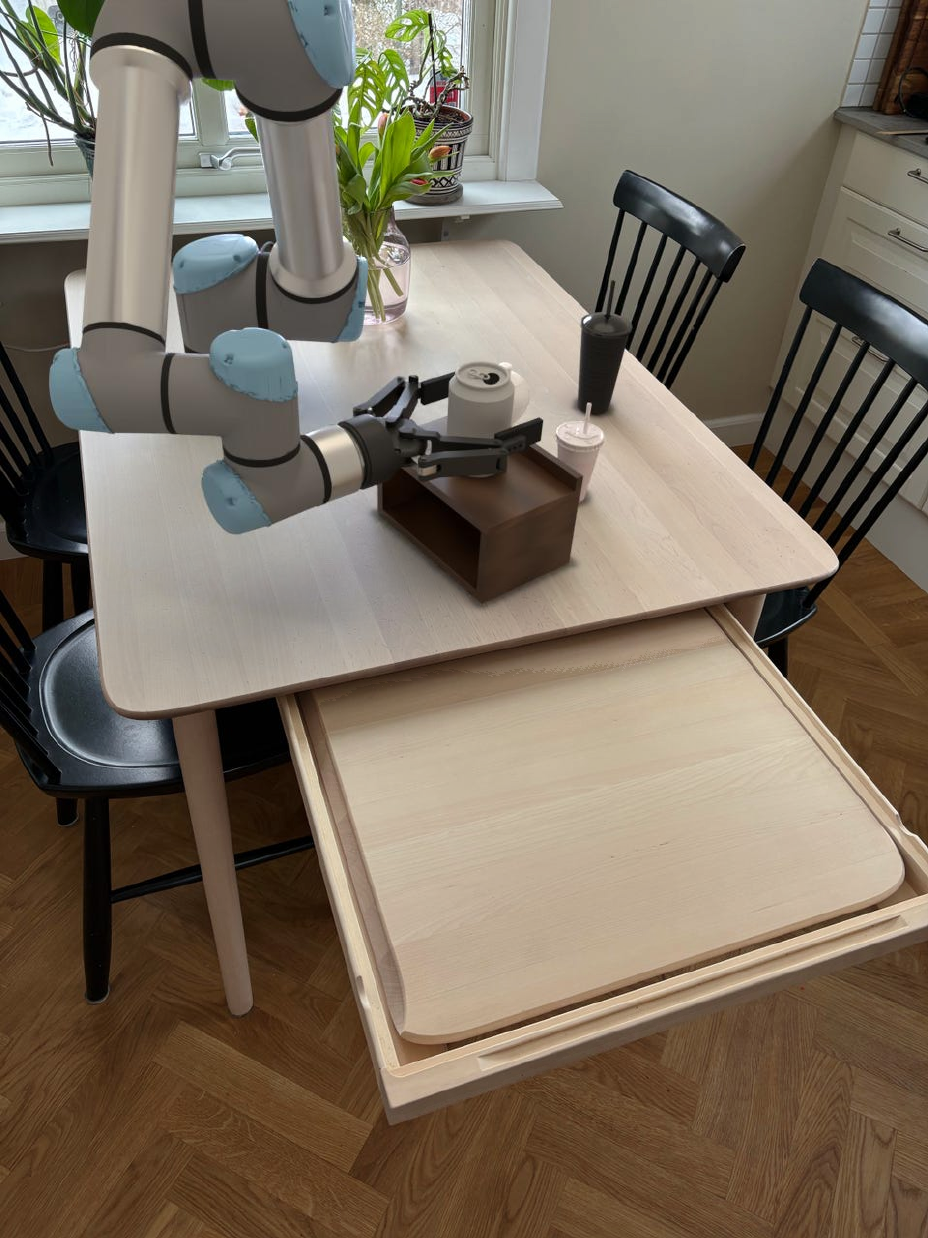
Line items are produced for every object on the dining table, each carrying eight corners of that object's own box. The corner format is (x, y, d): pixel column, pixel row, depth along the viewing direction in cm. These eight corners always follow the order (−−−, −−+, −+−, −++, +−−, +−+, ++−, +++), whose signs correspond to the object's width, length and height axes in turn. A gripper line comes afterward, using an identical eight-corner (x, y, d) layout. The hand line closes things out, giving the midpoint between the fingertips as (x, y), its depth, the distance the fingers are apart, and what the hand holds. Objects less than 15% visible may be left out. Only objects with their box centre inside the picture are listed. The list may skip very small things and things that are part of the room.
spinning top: (520, 457, 137) (528, 381, 129) (468, 449, 138) (473, 373, 130) (528, 431, 143) (537, 356, 135) (478, 423, 144) (483, 348, 136)
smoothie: (592, 511, 128) (608, 419, 119) (545, 504, 129) (557, 412, 120) (596, 485, 133) (611, 394, 124) (550, 479, 134) (562, 387, 124)
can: (501, 485, 112) (510, 392, 104) (438, 475, 113) (442, 382, 105) (512, 452, 118) (521, 361, 110) (452, 443, 118) (457, 352, 110)
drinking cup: (583, 423, 145) (603, 294, 132) (559, 399, 151) (576, 273, 137) (626, 414, 148) (650, 288, 135) (601, 391, 153) (622, 267, 140)
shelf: (461, 479, 132) (466, 396, 124) (569, 562, 120) (583, 475, 111) (377, 512, 125) (376, 426, 117) (482, 603, 113) (489, 514, 104)
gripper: (290, 436, 112) (437, 388, 122) (415, 545, 97) (569, 480, 108) (285, 377, 107) (439, 332, 117) (417, 483, 92) (578, 421, 103)
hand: (502, 403), depth 112 cm, fingers open, 13 cm apart
